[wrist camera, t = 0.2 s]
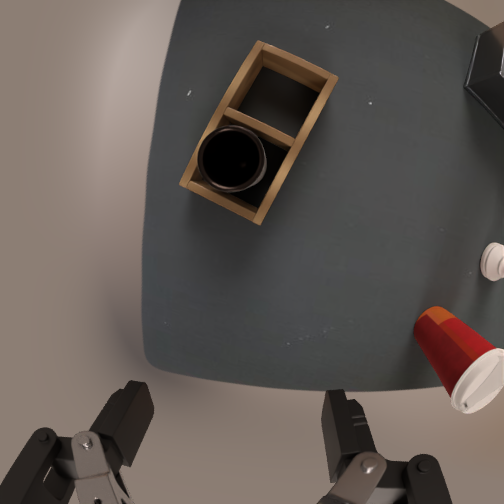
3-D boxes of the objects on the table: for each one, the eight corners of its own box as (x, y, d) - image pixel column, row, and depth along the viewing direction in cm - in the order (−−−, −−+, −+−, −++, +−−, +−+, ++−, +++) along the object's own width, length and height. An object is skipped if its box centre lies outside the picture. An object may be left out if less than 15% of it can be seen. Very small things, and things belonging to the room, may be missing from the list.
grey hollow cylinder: (241, 134, 27) (226, 111, 17) (276, 163, 28) (279, 154, 18) (212, 167, 28) (183, 163, 18) (246, 196, 29) (233, 206, 19)
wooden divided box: (259, 57, 25) (257, 39, 21) (329, 91, 25) (339, 77, 21) (191, 183, 29) (178, 184, 24) (261, 218, 29) (260, 226, 25)
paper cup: (418, 359, 33) (462, 426, 19) (397, 325, 31) (449, 396, 18) (459, 323, 31) (515, 379, 18) (443, 286, 30) (511, 339, 16)
